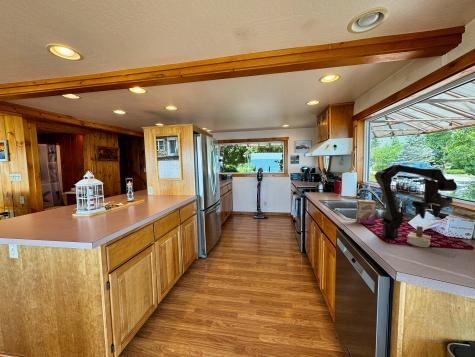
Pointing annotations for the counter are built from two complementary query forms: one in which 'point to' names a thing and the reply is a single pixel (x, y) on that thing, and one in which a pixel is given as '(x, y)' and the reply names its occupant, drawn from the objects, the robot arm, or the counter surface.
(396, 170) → the robot arm
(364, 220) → the candy bar box
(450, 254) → the mat
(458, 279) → the counter surface
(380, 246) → the counter surface
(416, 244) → the bowl
